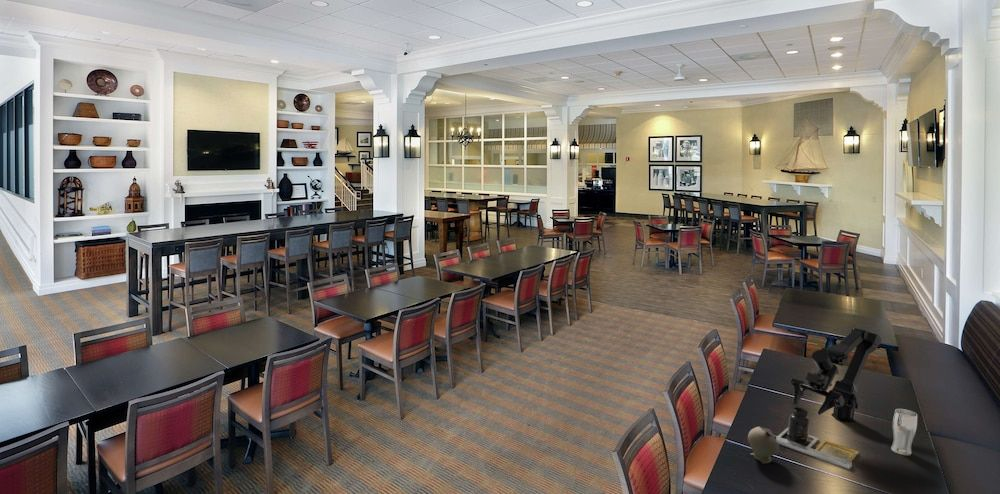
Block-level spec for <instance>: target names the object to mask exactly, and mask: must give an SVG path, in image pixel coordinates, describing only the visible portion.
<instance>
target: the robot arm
mask: <svg viewBox="0 0 1000 494" xmlns="http://www.w3.org/2000/svg"><path fill="white" fill-rule="evenodd" d="M881 342H882V338H881V336H880V335H879V333H876V332H872V331H869V330H866V329H863V328H861V327H860V328H859V327H853V328H852V329H851V331H850V332H849V333H848V334H847V335H846V336H845V337H844V338H843V339H842V340H841V341H840V342H839V343H838V344H832V345H830V346H829V347H827V348H824V347H821V348H820V349H818V350H815V351H814V352H812V354H811V359H812V361H813V362H814V364H815V367H817V369H818V370H817V372H814V373H812V372H810V371H807V372H806V375H805V376H804V380H803V379H799V378H798V377H795V376H794V377H791V378H790V380H789V382H788V383H790V386H791V387H792V389H793V390H794V397H793V405H794V406H796V405H797V404H798V403H799V402H800V400H801V399H802V397H803V395H804V392H805V391H808V392H811V393H815V394H817V395H820V396H822V397H825V398H824V401H823V403H822V405H821V406H820V408H819V409H818V412H817V414H818V416H820V415H822V414H824V413H826V412H827V411H828V410H831V409H833V413H831V416H833V417H834V418H835V419H836V420H838V421H839V422H841V423H842V422H843V423H845V422H848V423H850V422H854V423H856V422H857V420H856V419H855V418H854V417H855V409H856V410H858V409H859V407H860V403H861V401H860V399H859V398H858V389H857V383H858V381H859V379H860V376H861V373H862V371H863V368H864V367H865V364H866V362H867V359H868V358H869V356H870V354H871V353H873V352H875V351H876V350H877V349H878V346H880V344H881ZM854 349H855V351H854ZM852 351H854V353H853V354H852V357H851V359H850V356H849V355H850V353H851V352H852ZM849 360H850V362H849ZM848 362H849V365H847V369H846V371H845V374H844V376H843V378H842V379H841V380H838V379H837V380H836V381H835V384H834V386H833V387H832V385H833V384H832V382H833V381H834V378H835V376H836V375H839V373H840V372H839V368H838V366H841V367H842V366H845V365H846V364H847V363H848ZM804 381H807V383H808V384H805V382H804ZM830 387H832V389H830V390H829V388H830Z"/></svg>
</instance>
